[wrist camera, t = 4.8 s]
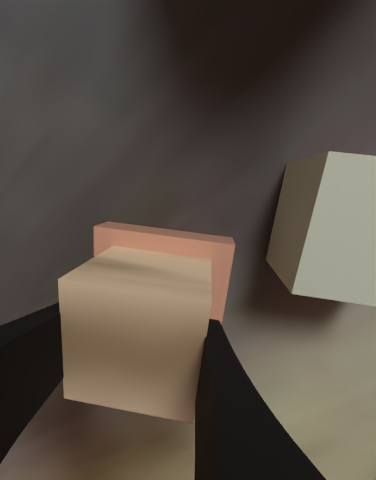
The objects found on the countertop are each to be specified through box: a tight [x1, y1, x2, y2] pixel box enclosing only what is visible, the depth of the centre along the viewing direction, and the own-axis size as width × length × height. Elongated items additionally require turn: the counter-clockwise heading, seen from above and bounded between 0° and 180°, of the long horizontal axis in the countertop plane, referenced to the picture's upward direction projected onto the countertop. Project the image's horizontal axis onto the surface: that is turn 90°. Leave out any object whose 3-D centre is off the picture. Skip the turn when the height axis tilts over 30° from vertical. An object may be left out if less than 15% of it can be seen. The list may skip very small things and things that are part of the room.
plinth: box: [94, 222, 235, 325], centre depth 12 cm, size 7×7×2 cm
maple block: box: [58, 246, 212, 424], centre depth 9 cm, size 5×5×4 cm
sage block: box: [266, 151, 376, 306], centre depth 9 cm, size 5×5×4 cm
